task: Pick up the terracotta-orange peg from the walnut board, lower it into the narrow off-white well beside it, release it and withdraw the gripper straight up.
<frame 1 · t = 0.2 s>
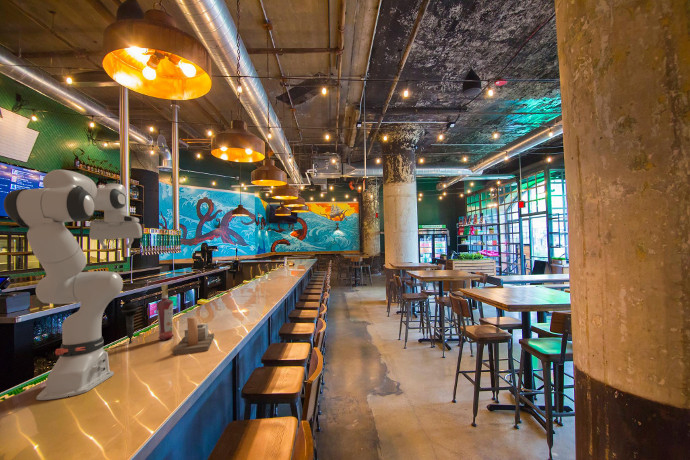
hand: (116, 248, 147), 48 cm above the worktop, fingers open, 8 cm apart
microphone: (130, 343, 159), on the worktop
liquor: (166, 339, 163), on the worktop
peg: (193, 344, 145), point 2 cm above the worktop, touching well board
well board: (195, 345, 149), on the worktop
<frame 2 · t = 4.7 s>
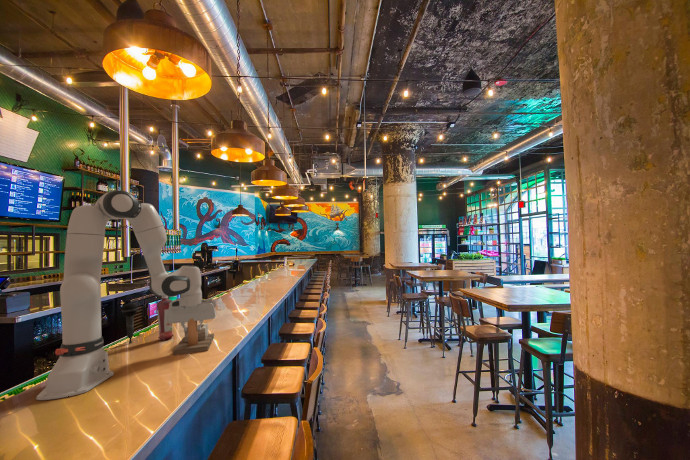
hand: (192, 330, 145), 8 cm above the worktop, fingers closed on peg, 4 cm apart
peg: (193, 344, 145), point 2 cm above the worktop, touching gripper, well board
everything else where it was.
when the fingers open (10 cm above the worktop, at t = 10.3 s): peg drops 1 cm, resting on well board.
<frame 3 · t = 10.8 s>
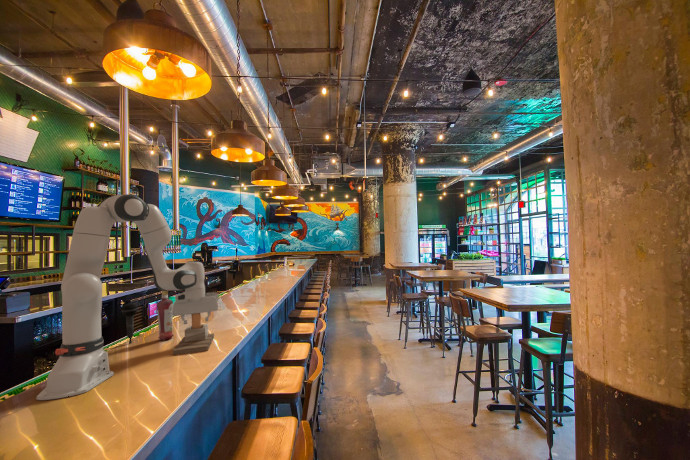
hand: (196, 322, 155), 10 cm above the worktop, fingers open, 8 cm apart
peg: (196, 338, 154), point 2 cm above the worktop, touching well board
everything else where it was.
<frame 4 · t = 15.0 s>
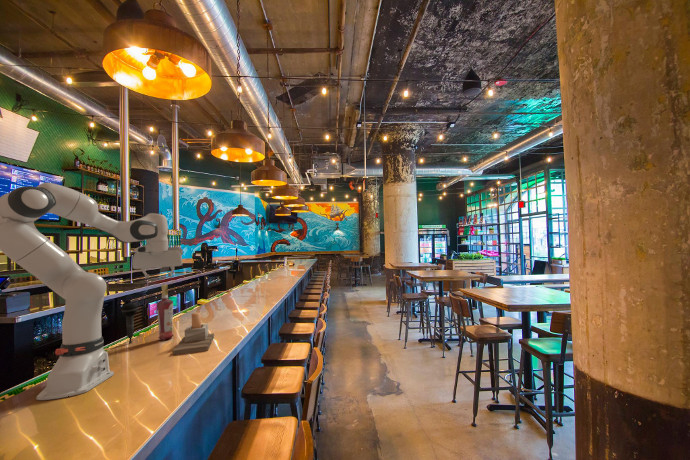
hand: (158, 277, 149), 33 cm above the worktop, fingers open, 8 cm apart
nothing on the worktop moved.
at the end: peg 0.1 cm from the target spot on the well board, point 2.0 cm above the well board's base; the gripper is holding nothing; peg tilted 0° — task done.
